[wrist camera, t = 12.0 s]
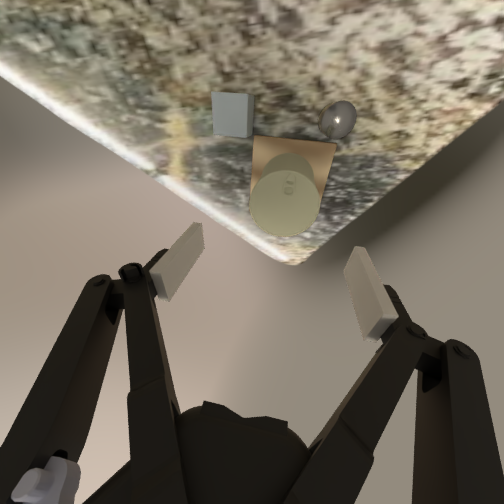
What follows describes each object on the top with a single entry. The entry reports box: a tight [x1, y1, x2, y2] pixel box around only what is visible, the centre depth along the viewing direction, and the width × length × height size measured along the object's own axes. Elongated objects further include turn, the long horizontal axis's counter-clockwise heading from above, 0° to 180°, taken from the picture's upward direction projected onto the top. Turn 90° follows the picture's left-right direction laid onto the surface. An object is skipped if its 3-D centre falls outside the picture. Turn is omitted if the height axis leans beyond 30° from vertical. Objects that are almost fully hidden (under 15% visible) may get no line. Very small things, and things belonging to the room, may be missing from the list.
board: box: [249, 135, 337, 211], centre depth 35 cm, size 13×13×1 cm
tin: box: [318, 101, 357, 139], centre depth 27 cm, size 4×4×6 cm
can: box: [249, 153, 320, 237], centre depth 30 cm, size 9×9×12 cm
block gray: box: [211, 92, 254, 138], centre depth 29 cm, size 5×5×5 cm
